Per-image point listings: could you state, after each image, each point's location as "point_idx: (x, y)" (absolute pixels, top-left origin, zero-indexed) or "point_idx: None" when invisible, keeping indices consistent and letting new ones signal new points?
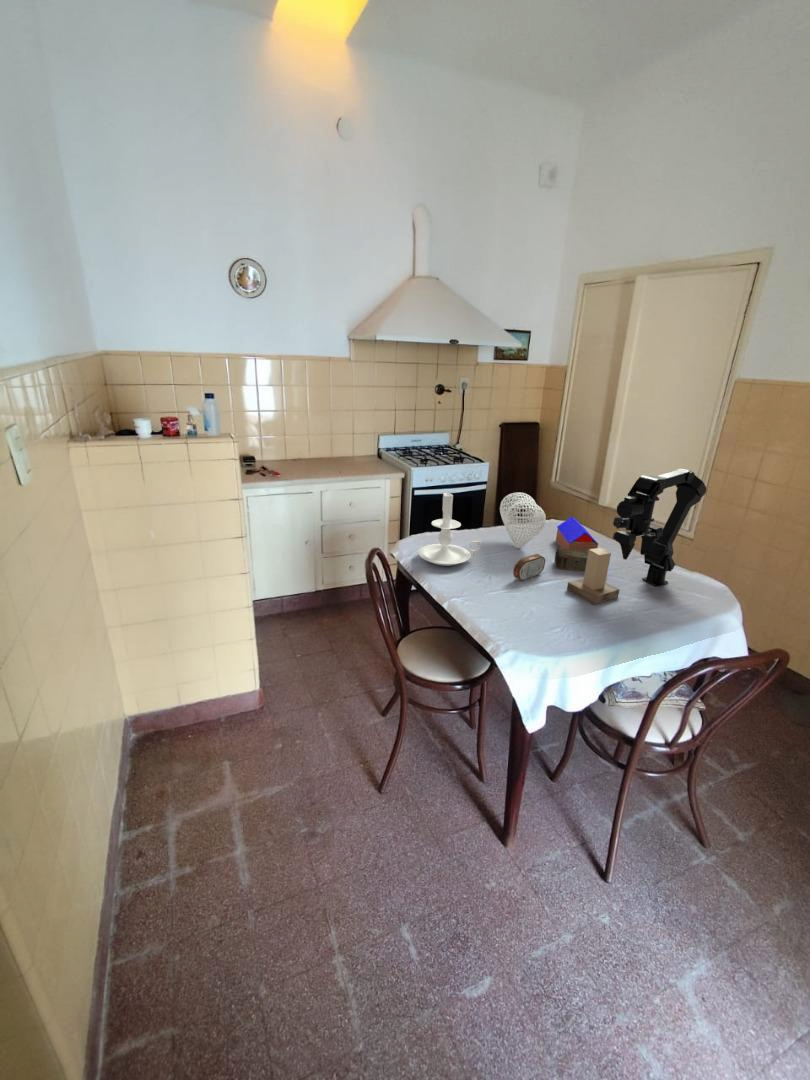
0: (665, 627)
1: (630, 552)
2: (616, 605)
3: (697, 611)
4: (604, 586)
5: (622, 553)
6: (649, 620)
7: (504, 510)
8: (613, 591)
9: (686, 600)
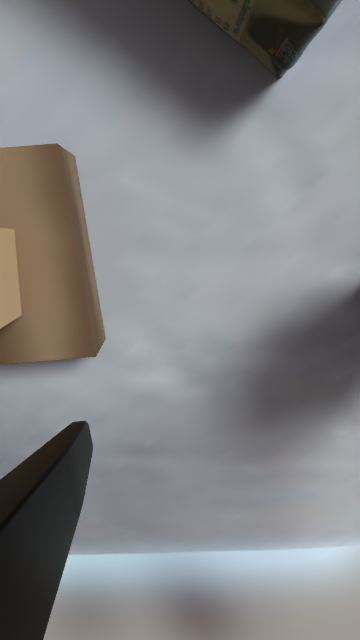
0: (101, 538)
1: (48, 601)
2: (42, 389)
3: (300, 510)
4: (16, 317)
5: (18, 470)
6: (84, 499)
7: None
8: (47, 360)
9: (351, 452)
